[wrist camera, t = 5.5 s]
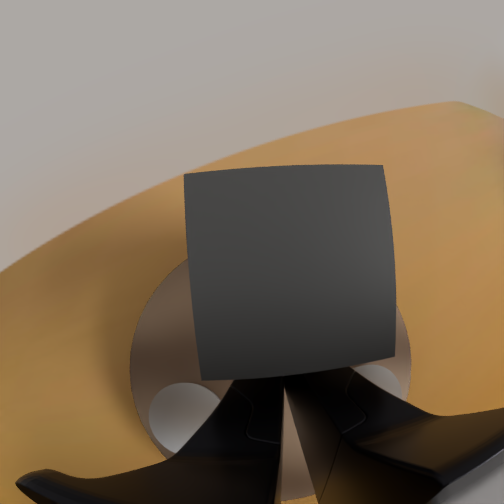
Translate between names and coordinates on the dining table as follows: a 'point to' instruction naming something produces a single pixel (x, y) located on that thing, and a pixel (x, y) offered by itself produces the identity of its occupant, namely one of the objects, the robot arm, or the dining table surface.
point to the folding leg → (290, 269)
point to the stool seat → (211, 392)
